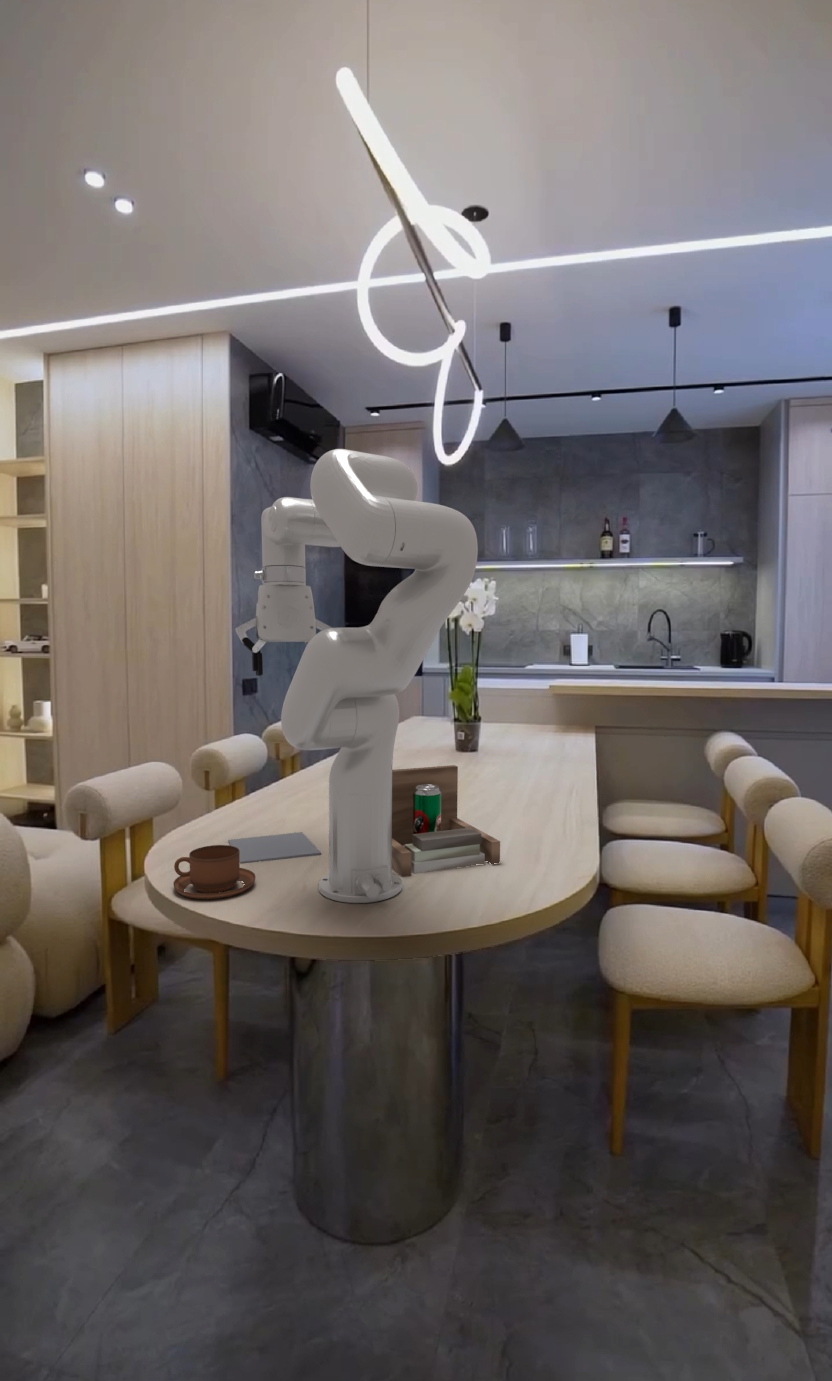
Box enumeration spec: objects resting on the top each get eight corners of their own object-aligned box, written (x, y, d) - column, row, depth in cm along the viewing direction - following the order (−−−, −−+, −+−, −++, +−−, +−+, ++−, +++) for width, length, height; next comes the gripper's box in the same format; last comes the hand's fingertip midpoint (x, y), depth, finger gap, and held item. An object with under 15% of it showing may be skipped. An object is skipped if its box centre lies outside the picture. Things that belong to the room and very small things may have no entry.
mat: (321, 855, 125) (321, 852, 125) (240, 865, 119) (240, 861, 119) (301, 834, 138) (301, 831, 138) (228, 842, 132) (228, 839, 132)
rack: (499, 864, 121) (501, 783, 120) (402, 877, 114) (402, 792, 113) (453, 836, 137) (454, 765, 136) (365, 846, 130) (365, 771, 129)
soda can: (441, 857, 124) (441, 790, 123) (412, 857, 124) (412, 789, 123) (440, 848, 129) (441, 784, 128) (413, 848, 129) (413, 783, 128)
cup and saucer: (173, 910, 100) (171, 868, 100) (174, 882, 112) (173, 844, 111) (259, 901, 104) (258, 860, 103) (252, 874, 115) (251, 837, 115)
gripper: (237, 574, 119) (240, 676, 120) (337, 577, 125) (338, 674, 126) (231, 579, 126) (234, 675, 127) (326, 581, 132) (328, 673, 133)
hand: (286, 674), depth 127 cm, fingers open, 9 cm apart
